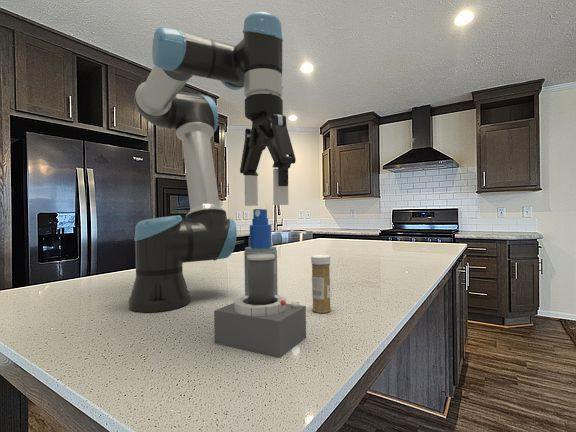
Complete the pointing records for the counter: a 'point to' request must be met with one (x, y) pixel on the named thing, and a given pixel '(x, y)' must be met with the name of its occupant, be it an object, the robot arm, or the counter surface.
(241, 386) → the counter surface
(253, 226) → the spray bottle
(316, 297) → the sprinkles bottle
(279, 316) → the grey block with ring
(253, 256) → the grey cylinder
